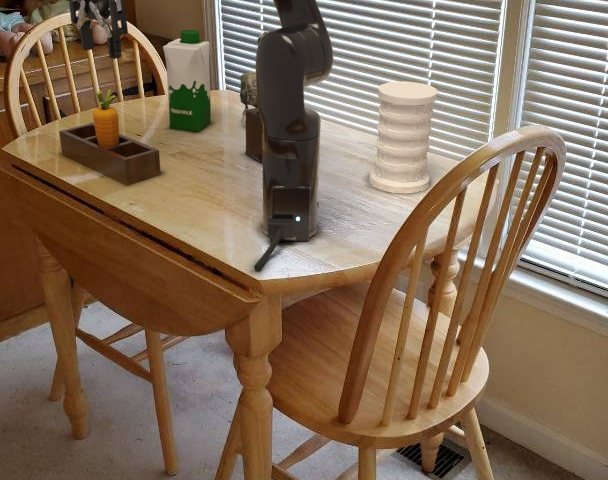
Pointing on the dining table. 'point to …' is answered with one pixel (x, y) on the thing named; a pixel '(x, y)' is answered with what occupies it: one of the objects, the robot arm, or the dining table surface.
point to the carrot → (106, 121)
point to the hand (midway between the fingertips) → (101, 53)
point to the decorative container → (403, 137)
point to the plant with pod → (249, 87)
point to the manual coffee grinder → (254, 134)
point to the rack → (111, 155)
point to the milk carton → (188, 82)
